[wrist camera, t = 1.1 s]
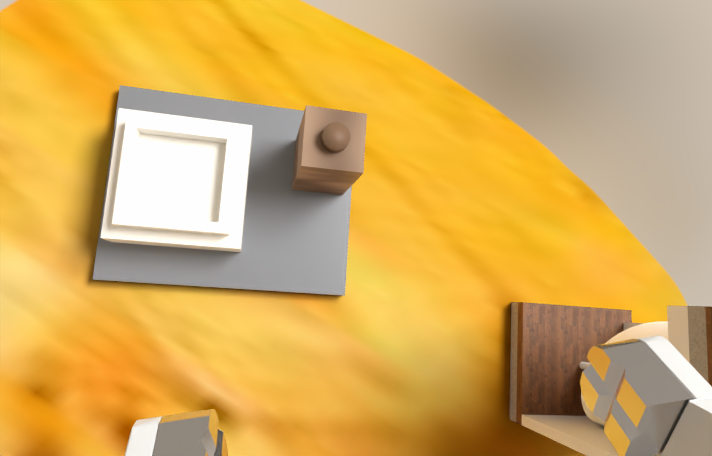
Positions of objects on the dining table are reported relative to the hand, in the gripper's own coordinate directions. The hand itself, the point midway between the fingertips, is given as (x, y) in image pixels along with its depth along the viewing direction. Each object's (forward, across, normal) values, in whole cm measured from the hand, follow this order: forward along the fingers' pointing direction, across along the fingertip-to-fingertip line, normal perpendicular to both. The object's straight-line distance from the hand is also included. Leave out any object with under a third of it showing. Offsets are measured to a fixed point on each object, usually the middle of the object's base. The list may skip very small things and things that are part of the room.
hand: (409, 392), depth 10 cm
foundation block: (+31, +11, +11) cm, 35 cm away
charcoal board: (+31, +8, +12) cm, 34 cm away
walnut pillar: (+32, 0, +10) cm, 34 cm away
